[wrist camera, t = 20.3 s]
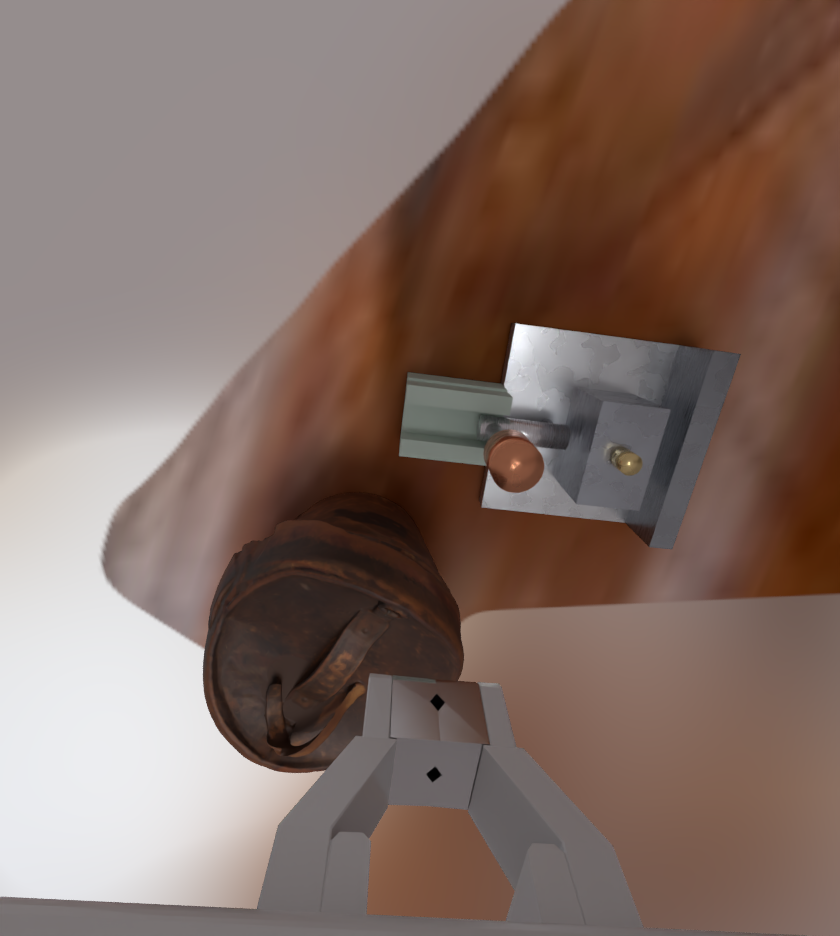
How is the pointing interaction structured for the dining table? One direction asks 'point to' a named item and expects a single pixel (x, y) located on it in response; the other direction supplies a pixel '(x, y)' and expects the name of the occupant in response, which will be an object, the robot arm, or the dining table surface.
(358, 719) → the case
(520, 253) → the dining table surface
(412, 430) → the ram guide
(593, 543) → the dining table surface
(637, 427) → the block
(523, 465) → the ram
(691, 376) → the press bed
